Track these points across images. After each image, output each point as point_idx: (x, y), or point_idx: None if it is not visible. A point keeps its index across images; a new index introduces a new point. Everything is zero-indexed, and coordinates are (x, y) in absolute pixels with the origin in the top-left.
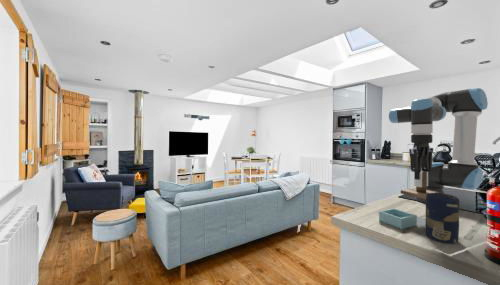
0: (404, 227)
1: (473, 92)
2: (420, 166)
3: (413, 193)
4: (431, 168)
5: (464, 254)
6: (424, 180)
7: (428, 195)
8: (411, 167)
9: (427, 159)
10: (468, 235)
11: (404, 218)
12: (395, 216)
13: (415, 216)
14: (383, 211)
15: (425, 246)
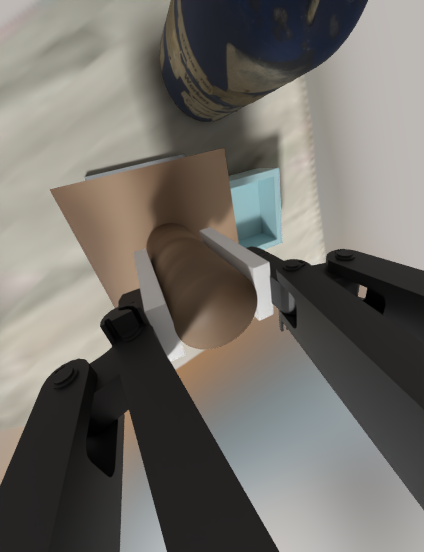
0: (248, 171)
1: None
2: (330, 298)
3: (235, 224)
4: (57, 375)
5: None
6: (196, 243)
7: (363, 9)
8: (373, 305)
9: (215, 543)
10: (57, 63)
11: (264, 171)
12: (277, 191)
13: None
14: (270, 241)
15: None
